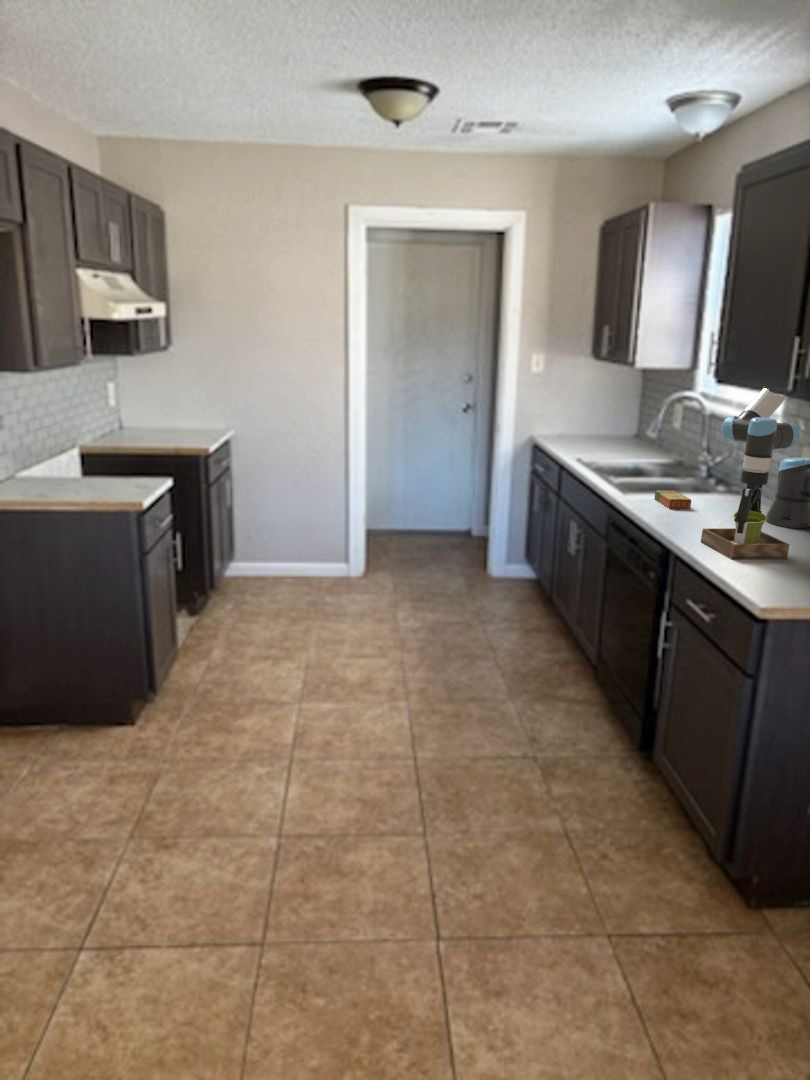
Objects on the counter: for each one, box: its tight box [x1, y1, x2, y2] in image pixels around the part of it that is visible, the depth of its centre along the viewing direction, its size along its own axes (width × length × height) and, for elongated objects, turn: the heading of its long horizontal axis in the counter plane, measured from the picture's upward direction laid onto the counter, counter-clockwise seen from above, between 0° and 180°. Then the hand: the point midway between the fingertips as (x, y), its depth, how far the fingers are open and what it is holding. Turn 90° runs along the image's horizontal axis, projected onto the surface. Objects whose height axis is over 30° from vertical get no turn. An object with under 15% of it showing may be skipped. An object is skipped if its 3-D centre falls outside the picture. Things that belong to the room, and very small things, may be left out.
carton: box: [654, 489, 692, 510], centre depth 310 cm, size 8×16×4 cm, turn 3°
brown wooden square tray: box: [700, 527, 791, 560], centre depth 252 cm, size 18×18×4 cm
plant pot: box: [732, 511, 767, 544], centre depth 253 cm, size 9×9×9 cm
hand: (744, 538), depth 252 cm, fingers open, 13 cm apart
